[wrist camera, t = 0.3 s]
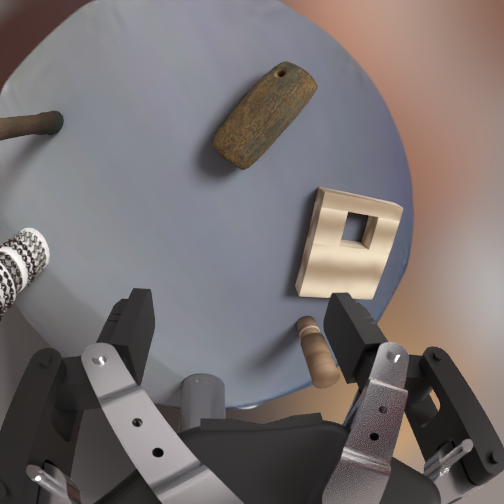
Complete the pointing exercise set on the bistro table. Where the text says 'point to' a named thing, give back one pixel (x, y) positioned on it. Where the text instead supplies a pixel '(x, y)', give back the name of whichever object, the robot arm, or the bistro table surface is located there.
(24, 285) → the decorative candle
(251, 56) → the bistro table surface
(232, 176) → the bistro table surface
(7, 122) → the potato masher grenade
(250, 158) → the stone weight
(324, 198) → the board
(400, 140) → the bistro table surface
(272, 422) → the robot arm
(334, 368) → the peg
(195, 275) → the bistro table surface
